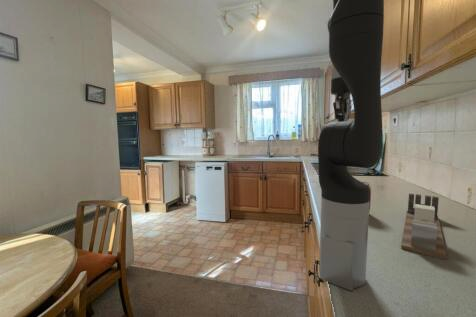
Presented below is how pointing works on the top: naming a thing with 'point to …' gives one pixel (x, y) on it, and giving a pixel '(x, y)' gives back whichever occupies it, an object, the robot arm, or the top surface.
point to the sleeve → (424, 213)
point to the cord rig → (423, 230)
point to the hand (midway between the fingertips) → (341, 133)
